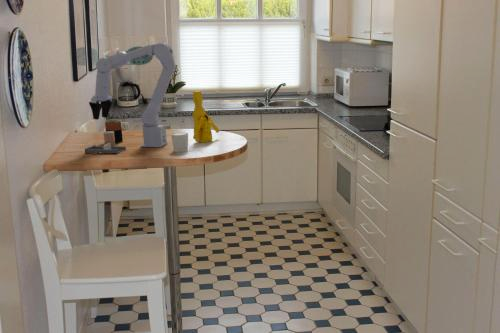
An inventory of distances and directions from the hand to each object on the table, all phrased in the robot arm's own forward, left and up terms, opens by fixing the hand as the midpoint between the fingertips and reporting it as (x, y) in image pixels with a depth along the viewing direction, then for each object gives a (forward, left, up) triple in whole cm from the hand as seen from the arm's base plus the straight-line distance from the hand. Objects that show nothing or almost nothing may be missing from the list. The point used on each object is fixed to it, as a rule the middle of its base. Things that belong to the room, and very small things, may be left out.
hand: (100, 118), depth 270 cm
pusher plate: (-7, +8, -13) cm, 17 cm away
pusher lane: (-6, +8, -13) cm, 17 cm away
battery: (+2, -14, -13) cm, 19 cm away
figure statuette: (-40, -16, -13) cm, 45 cm away
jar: (-3, 0, -13) cm, 13 cm away
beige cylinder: (-38, +4, -13) cm, 40 cm away
